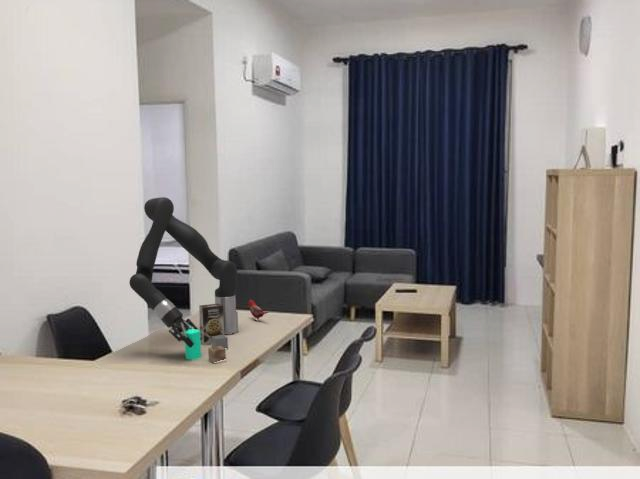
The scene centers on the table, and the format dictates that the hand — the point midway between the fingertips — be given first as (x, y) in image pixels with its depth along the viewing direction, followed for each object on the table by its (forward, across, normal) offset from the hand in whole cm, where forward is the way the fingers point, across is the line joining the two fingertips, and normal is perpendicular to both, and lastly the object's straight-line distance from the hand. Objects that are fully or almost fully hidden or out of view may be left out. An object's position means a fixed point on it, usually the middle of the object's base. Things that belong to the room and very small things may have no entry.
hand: (196, 343), depth 224 cm
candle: (+3, 0, +5) cm, 6 cm away
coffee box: (+2, +21, +6) cm, 22 cm away
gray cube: (+7, +13, +1) cm, 15 cm away
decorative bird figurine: (+7, +59, +1) cm, 59 cm away
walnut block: (+11, -3, -3) cm, 12 cm away
